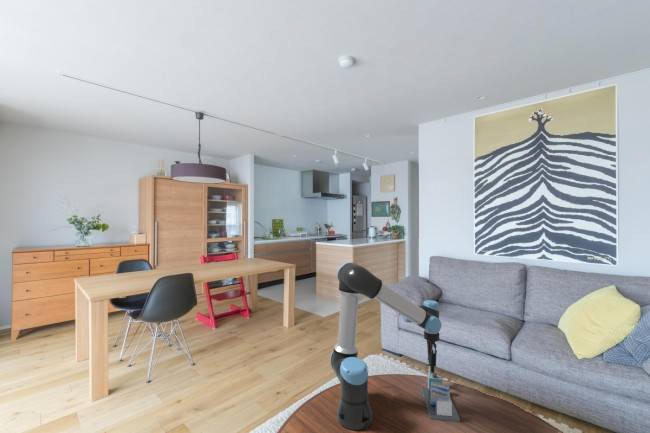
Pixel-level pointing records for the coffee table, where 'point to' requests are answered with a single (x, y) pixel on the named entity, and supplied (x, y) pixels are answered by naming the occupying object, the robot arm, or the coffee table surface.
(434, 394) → the medicine box
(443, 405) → the base
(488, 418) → the coffee table surface
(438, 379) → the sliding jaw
